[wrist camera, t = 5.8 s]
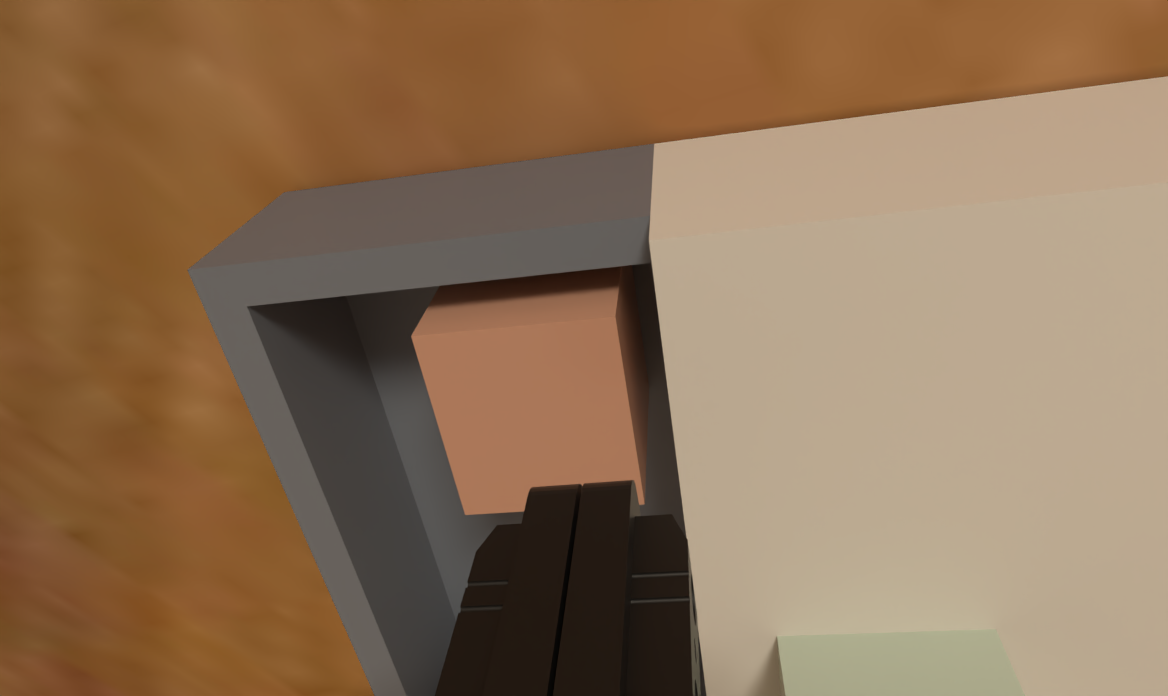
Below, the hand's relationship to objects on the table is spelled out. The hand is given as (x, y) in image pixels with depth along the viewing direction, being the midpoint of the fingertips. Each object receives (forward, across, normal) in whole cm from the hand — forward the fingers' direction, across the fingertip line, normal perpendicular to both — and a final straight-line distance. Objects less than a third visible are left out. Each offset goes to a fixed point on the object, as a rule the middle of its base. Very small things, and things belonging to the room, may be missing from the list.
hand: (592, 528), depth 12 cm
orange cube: (+5, 0, 0) cm, 5 cm away
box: (+7, +3, +3) cm, 8 cm away
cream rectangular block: (+7, -6, +4) cm, 10 cm away
